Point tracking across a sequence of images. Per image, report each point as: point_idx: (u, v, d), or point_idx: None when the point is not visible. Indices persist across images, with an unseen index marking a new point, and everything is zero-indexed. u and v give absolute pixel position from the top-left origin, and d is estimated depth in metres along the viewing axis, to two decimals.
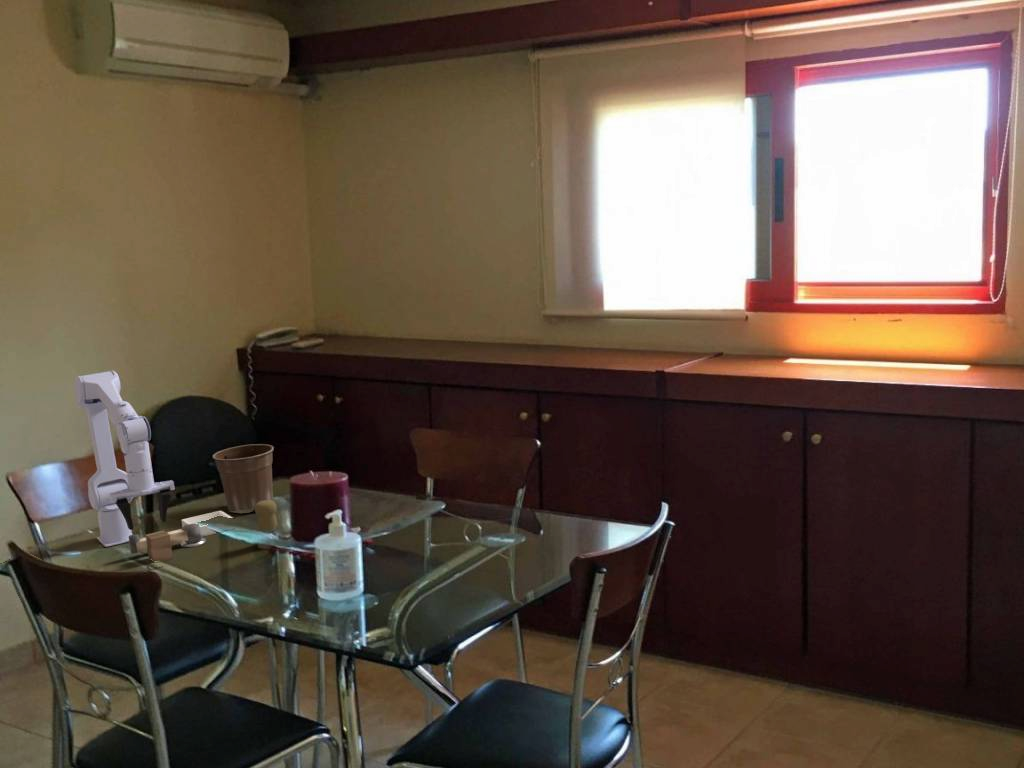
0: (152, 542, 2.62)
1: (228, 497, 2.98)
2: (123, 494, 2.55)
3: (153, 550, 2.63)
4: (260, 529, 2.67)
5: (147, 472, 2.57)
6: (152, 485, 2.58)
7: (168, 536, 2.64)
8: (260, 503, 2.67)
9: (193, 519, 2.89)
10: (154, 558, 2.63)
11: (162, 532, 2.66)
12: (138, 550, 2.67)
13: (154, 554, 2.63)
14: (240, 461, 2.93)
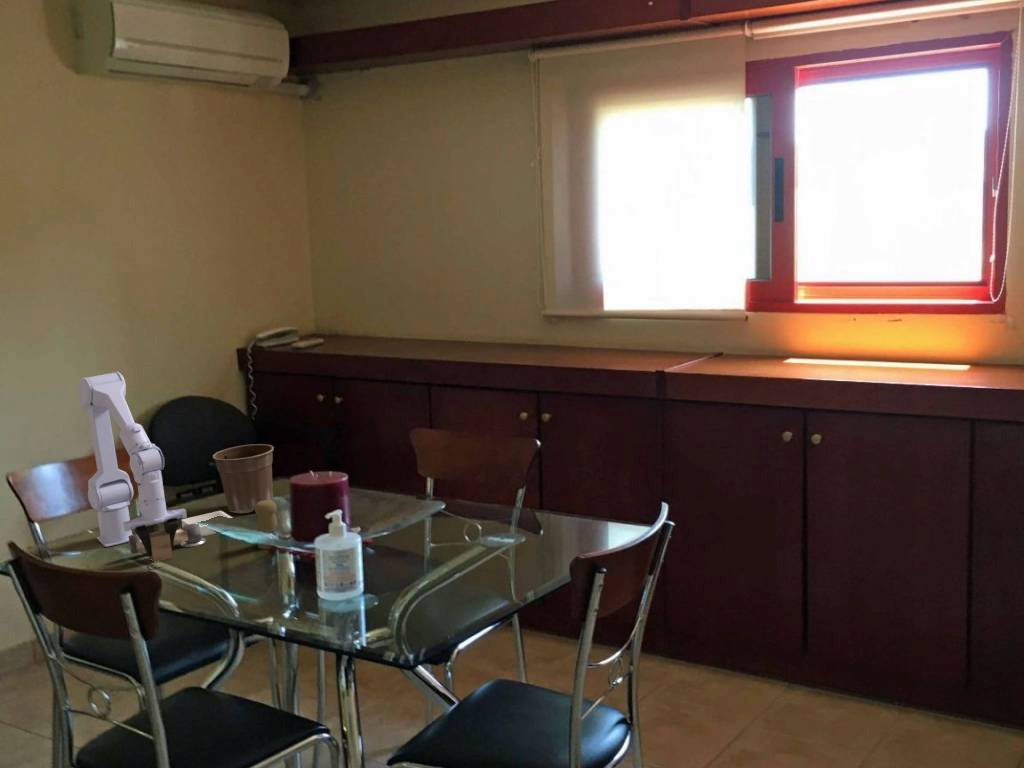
0: (152, 542, 2.62)
1: (228, 497, 2.98)
2: (137, 523, 2.61)
3: (153, 550, 2.63)
4: (260, 529, 2.67)
5: (160, 501, 2.62)
6: (165, 514, 2.64)
7: (168, 536, 2.64)
8: (260, 503, 2.67)
9: (193, 519, 2.89)
10: (154, 558, 2.63)
11: (162, 532, 2.66)
12: (138, 550, 2.67)
13: (154, 554, 2.63)
14: (240, 461, 2.93)
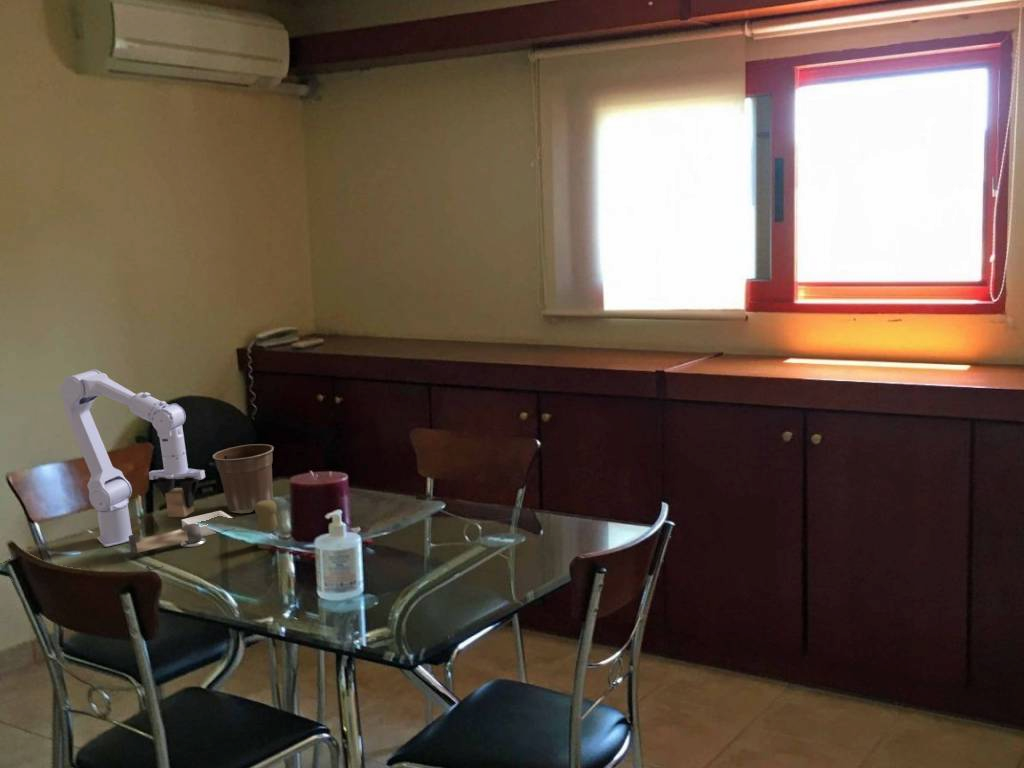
0: (166, 497, 2.72)
1: (228, 497, 2.98)
2: (156, 474, 2.73)
3: (167, 504, 2.73)
4: (260, 529, 2.67)
5: (172, 458, 2.70)
6: (178, 471, 2.71)
7: (180, 495, 2.71)
8: (260, 503, 2.67)
9: (193, 519, 2.89)
10: (168, 512, 2.73)
11: None
12: (138, 550, 2.67)
13: (168, 508, 2.73)
14: (240, 461, 2.93)
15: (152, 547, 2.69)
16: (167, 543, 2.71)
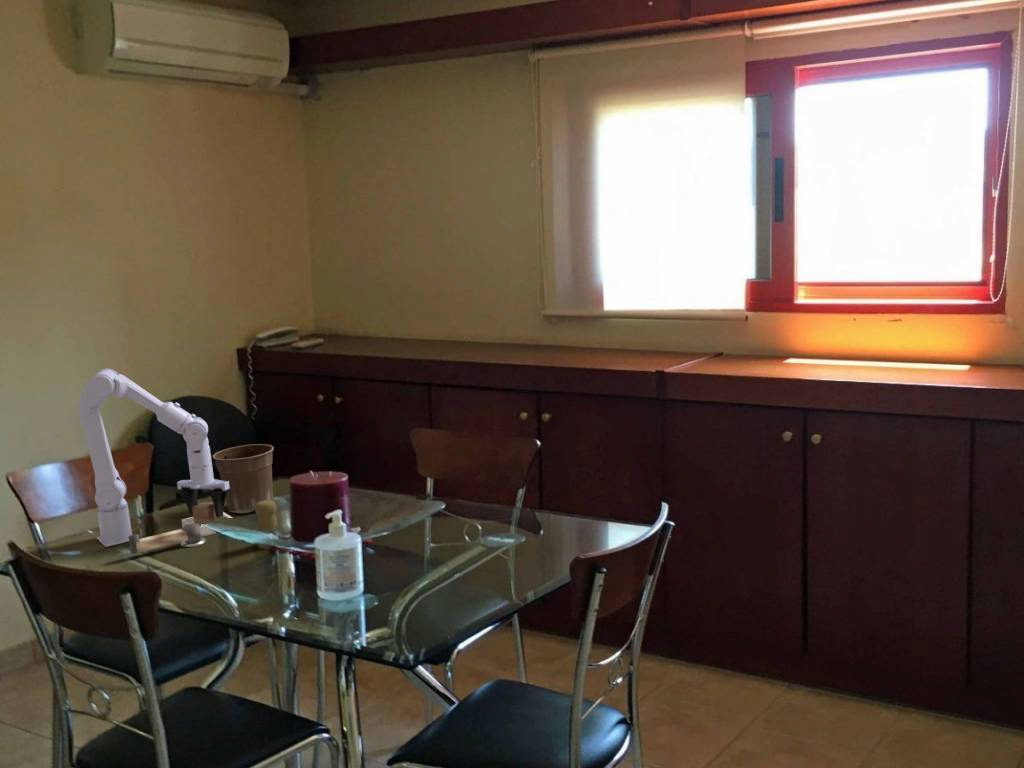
0: (193, 510, 2.84)
1: (228, 497, 2.98)
2: (184, 484, 2.85)
3: (194, 518, 2.84)
4: (260, 529, 2.67)
5: (198, 469, 2.81)
6: (204, 482, 2.82)
7: (205, 509, 2.83)
8: (260, 503, 2.67)
9: (193, 519, 2.89)
10: None
11: (210, 504, 2.85)
12: (138, 550, 2.67)
13: (195, 522, 2.84)
14: (240, 461, 2.93)
15: (152, 547, 2.69)
16: (167, 543, 2.71)
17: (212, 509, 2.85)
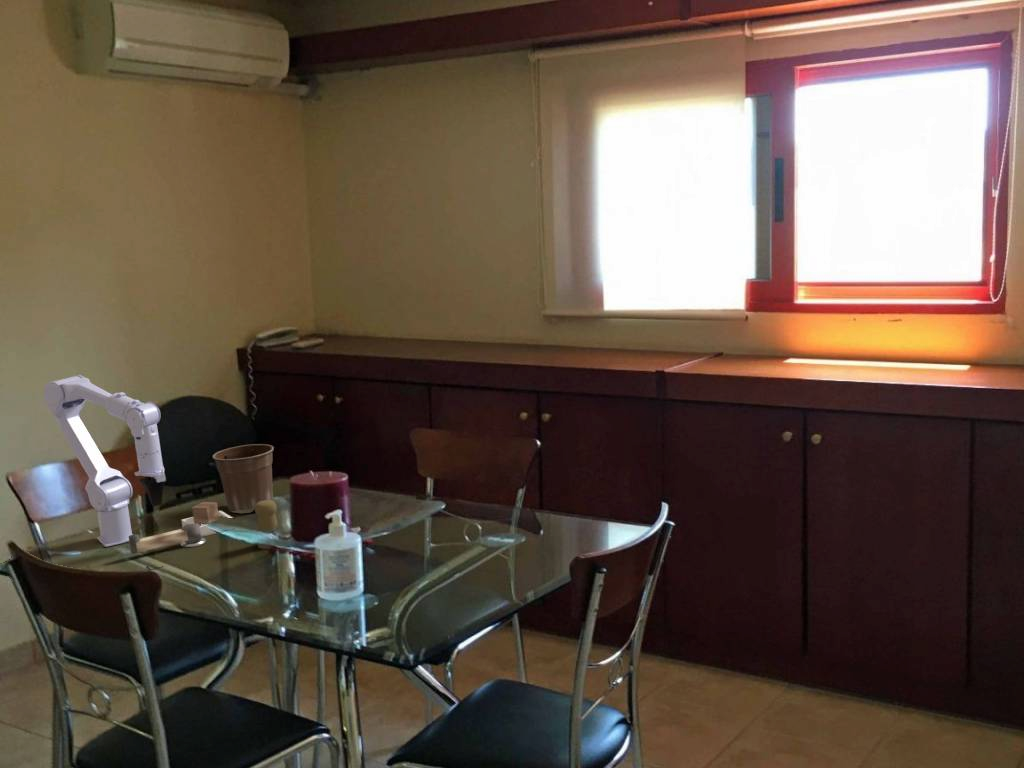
0: (193, 510, 2.84)
1: (228, 497, 2.98)
2: None
3: (194, 518, 2.84)
4: (260, 529, 2.67)
5: (139, 457, 2.70)
6: (145, 470, 2.70)
7: (205, 509, 2.83)
8: (260, 503, 2.67)
9: (193, 519, 2.89)
10: None
11: (210, 504, 2.85)
12: (138, 550, 2.67)
13: (195, 522, 2.84)
14: (240, 461, 2.93)
15: (152, 547, 2.69)
16: (167, 543, 2.71)
17: (212, 509, 2.85)
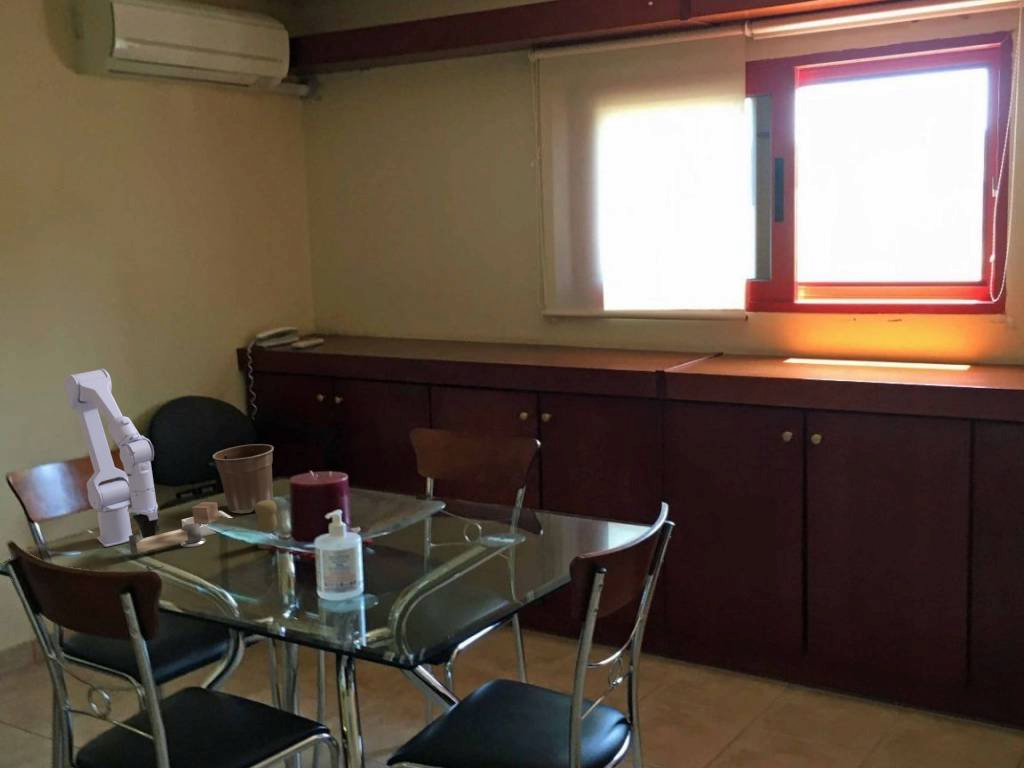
0: (193, 510, 2.84)
1: (228, 497, 2.98)
2: None
3: (194, 518, 2.84)
4: (260, 529, 2.67)
5: (132, 494, 2.67)
6: (138, 507, 2.67)
7: (205, 509, 2.83)
8: (260, 503, 2.67)
9: (193, 519, 2.89)
10: None
11: (210, 504, 2.85)
12: (138, 550, 2.67)
13: (195, 522, 2.84)
14: (240, 461, 2.93)
15: (152, 547, 2.69)
16: (167, 543, 2.71)
17: (212, 509, 2.85)
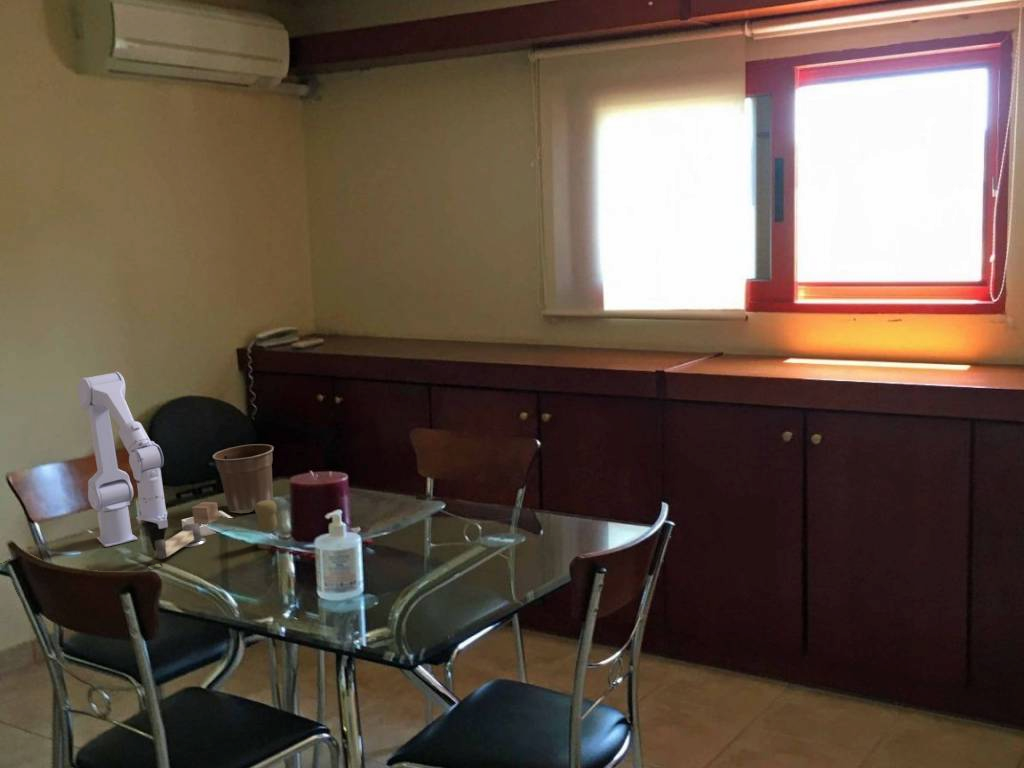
0: (193, 510, 2.84)
1: (228, 497, 2.98)
2: None
3: (194, 518, 2.84)
4: (260, 529, 2.67)
5: (141, 501, 2.60)
6: (147, 515, 2.61)
7: (205, 509, 2.83)
8: (260, 503, 2.67)
9: (193, 519, 2.89)
10: None
11: (210, 504, 2.85)
12: (167, 554, 2.62)
13: (195, 522, 2.84)
14: (240, 461, 2.93)
15: (174, 550, 2.65)
16: (183, 544, 2.69)
17: (212, 509, 2.85)
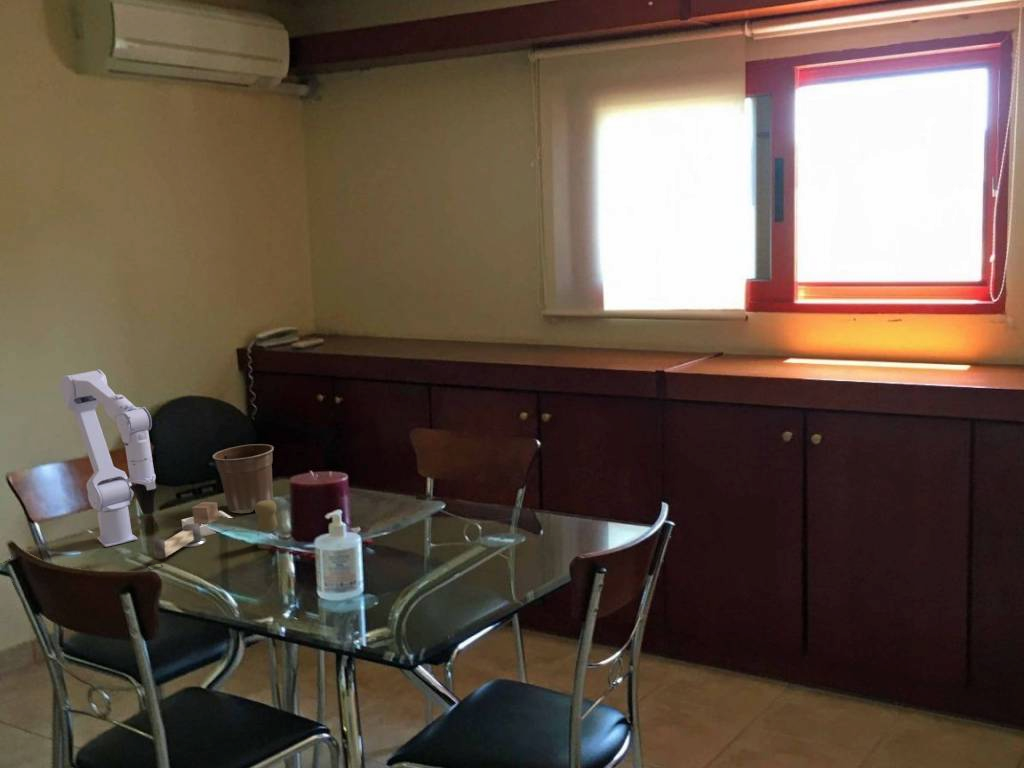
0: (193, 510, 2.84)
1: (228, 497, 2.98)
2: None
3: (194, 518, 2.84)
4: (260, 529, 2.67)
5: (130, 463, 2.64)
6: (135, 477, 2.64)
7: (205, 509, 2.83)
8: (260, 503, 2.67)
9: (193, 519, 2.89)
10: None
11: (210, 504, 2.85)
12: (166, 554, 2.62)
13: (195, 522, 2.84)
14: (240, 461, 2.93)
15: (174, 550, 2.65)
16: (182, 544, 2.69)
17: (212, 509, 2.85)
